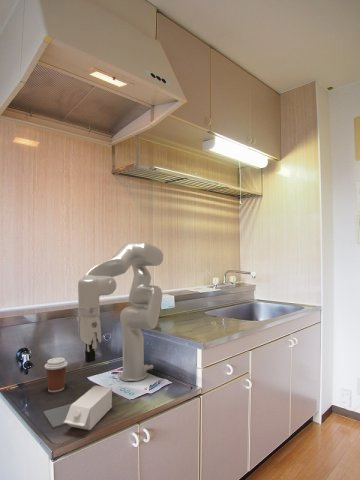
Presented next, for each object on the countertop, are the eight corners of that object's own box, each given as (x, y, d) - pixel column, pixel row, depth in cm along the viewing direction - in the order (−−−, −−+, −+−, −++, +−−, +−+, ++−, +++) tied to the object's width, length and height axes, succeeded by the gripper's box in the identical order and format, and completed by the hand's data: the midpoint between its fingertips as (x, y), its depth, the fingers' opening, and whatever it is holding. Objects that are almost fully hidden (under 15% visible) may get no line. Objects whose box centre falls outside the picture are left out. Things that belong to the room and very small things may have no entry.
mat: (89, 399, 126) (89, 398, 126) (102, 412, 116) (102, 411, 116) (43, 412, 116) (43, 411, 116) (53, 428, 106) (53, 426, 106)
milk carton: (112, 407, 119) (82, 437, 101) (94, 404, 121) (63, 433, 103) (112, 387, 119) (83, 414, 101) (95, 385, 121) (63, 411, 102)
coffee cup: (47, 395, 131) (47, 365, 131) (42, 388, 138) (42, 359, 138) (70, 389, 136) (70, 360, 136) (64, 382, 143) (64, 355, 144)
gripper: (106, 313, 117) (108, 364, 117) (91, 307, 129) (92, 354, 129) (86, 316, 113) (87, 370, 113) (72, 310, 125) (73, 358, 125)
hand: (90, 361), depth 121 cm, fingers closed
